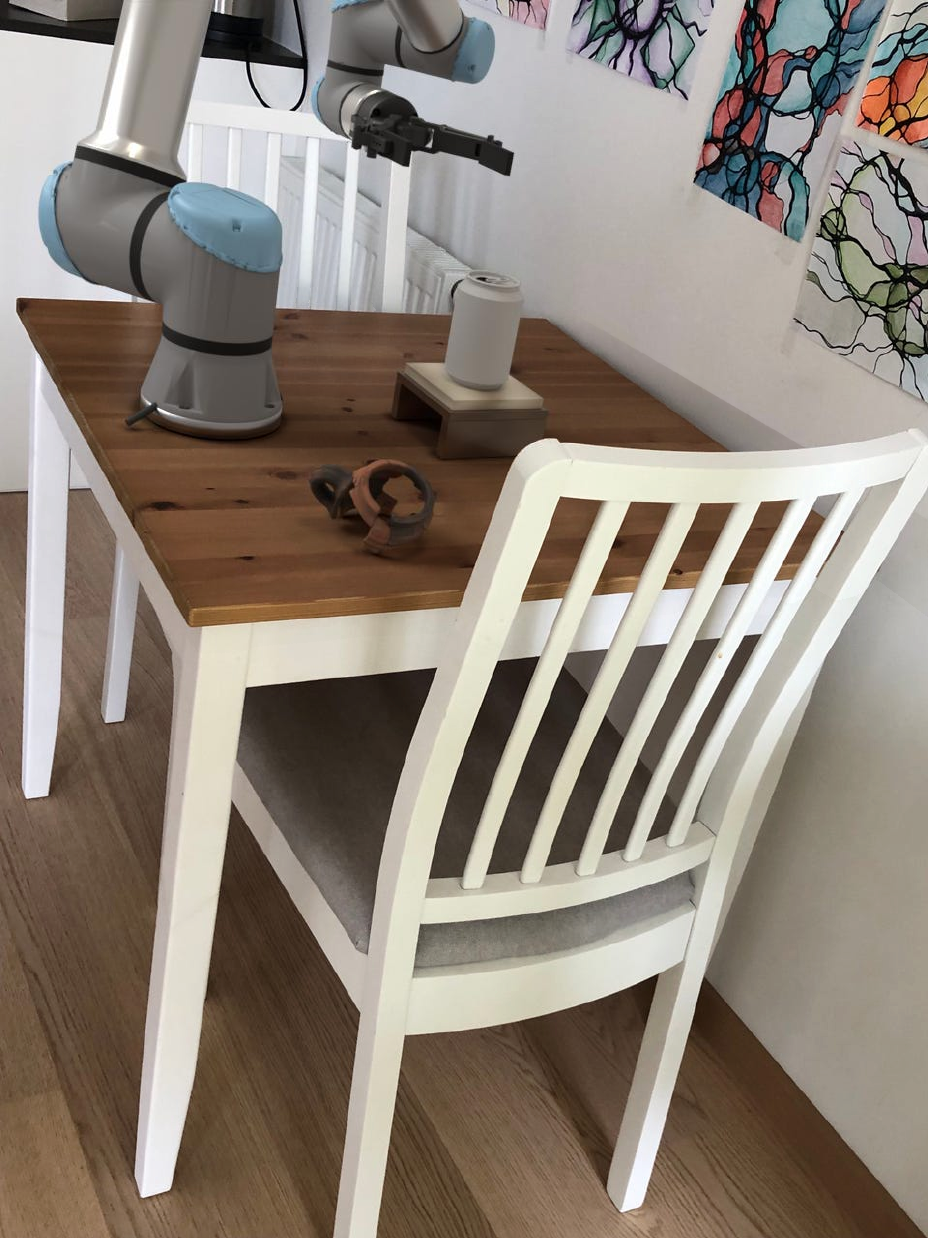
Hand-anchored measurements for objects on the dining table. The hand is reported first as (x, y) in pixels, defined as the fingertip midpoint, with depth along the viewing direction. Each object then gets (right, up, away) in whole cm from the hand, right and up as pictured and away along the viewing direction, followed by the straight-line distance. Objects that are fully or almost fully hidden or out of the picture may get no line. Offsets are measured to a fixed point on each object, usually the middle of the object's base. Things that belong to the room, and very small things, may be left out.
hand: (460, 159), depth 143 cm
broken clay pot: (-9, -45, -26) cm, 52 cm away
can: (+2, -26, -1) cm, 26 cm away
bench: (0, -32, +2) cm, 32 cm away
